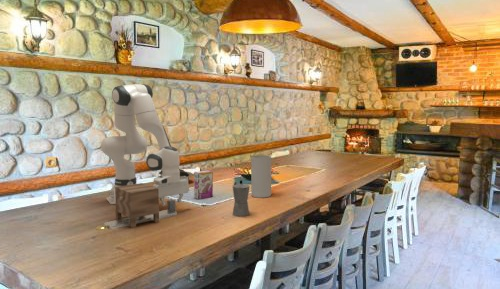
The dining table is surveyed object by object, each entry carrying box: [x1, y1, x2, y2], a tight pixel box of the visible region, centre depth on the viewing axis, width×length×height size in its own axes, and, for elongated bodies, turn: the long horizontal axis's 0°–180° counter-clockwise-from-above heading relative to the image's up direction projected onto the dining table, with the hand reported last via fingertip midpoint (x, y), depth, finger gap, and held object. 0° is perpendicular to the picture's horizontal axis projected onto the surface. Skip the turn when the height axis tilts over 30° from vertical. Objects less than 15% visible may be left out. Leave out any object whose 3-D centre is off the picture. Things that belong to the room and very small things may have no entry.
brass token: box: [95, 224, 109, 231], centre depth 175 cm, size 5×5×1 cm
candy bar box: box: [193, 169, 214, 200], centre depth 234 cm, size 11×5×16 cm, turn 135°
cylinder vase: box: [250, 154, 272, 199], centre depth 238 cm, size 12×12×25 cm
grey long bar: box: [103, 199, 178, 230], centre depth 188 cm, size 36×8×7 cm, turn 132°
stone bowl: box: [158, 168, 194, 180], centre depth 281 cm, size 25×25×9 cm
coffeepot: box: [232, 179, 250, 217], centre depth 198 cm, size 15×9×18 cm, turn 25°
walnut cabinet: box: [115, 182, 160, 229], centre depth 186 cm, size 18×15×16 cm
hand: (171, 203), depth 199 cm, fingers open, 8 cm apart
